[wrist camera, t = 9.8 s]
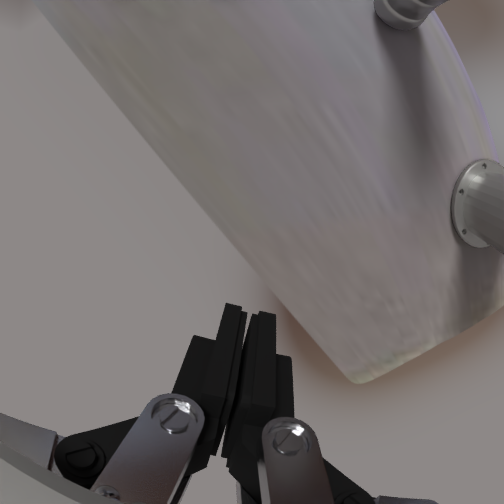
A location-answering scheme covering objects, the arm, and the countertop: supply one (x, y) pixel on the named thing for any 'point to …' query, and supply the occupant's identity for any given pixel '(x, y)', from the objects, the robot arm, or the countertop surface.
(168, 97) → the countertop surface
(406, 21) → the plastic bottle
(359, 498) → the robot arm
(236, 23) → the countertop surface
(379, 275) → the countertop surface
